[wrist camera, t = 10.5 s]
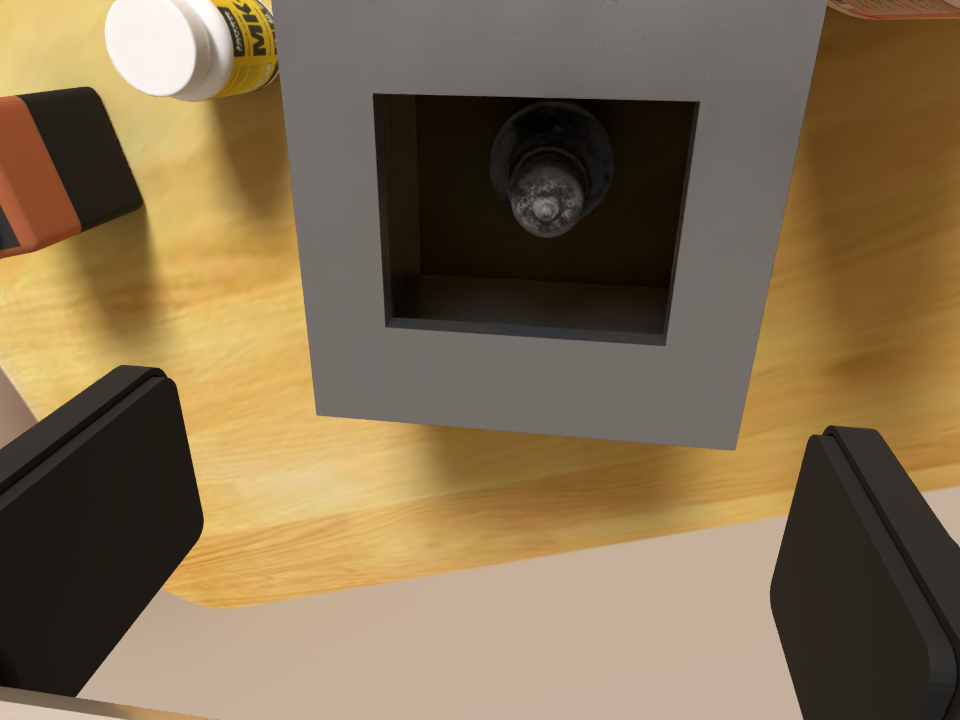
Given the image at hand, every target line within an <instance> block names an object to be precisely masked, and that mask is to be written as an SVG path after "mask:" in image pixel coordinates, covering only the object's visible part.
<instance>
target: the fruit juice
mask: <svg viewBox="0 0 960 720" xmlns="http://www.w3.org/2000/svg"><path fill="white" fill-rule="evenodd" d="M827 6H829V7H831V8H833V9H835V10H837V11H839V12H842V13H844V14H847V15H850V16H854V17H858V18H864V19H960V0H828V2H827Z"/></svg>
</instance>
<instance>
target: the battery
mask: <svg viewBox="0 0 960 720" xmlns="http://www.w3.org/2000/svg"><path fill="white" fill-rule="evenodd" d="M141 204H142V201H141V198H140V195H139V193H138V190H137V188H136V186H135V183H134V181H133V178H132V176H131V174H130V171H129V169H128V166H127V164H126V162H125V159H124V157H123V154H122V152H121V150H120V147H119V145H118V142H117V140H116V137H115V135H114V133H113V130H112V128H111V125H110V123H109V121H108V118H107V116H106V113H105V111H104V109H103V106H102V104H101V102H100V99H99V97H98V95H97V93H96V91H95V90H94V89H92V88H90V87H78V88H70V89H62V90H54V91H46V92H39V93H31V94H23V95H15V96H7V97H0V259H1V258H6V257H11V256H16V255H21V254H26V253H31V252H35V251H38V250H40V249H43V248H45V247H48V246H50V245H53V244H55V243H57V242H60V241H62V240H65V239H67V238H69V237H72V236H74V235H77V234H79V233H82V232H84V231H86V230H89V229H91V228H94V227H96V226H98V225H101V224H103V223H106V222H108V221H110V220H113V219H115V218H118V217H120V216H123V215H125V214H127V213H130V212H132V211H135V210H137V209H139V208H140V206H141Z"/></svg>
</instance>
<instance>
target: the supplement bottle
mask: <svg viewBox="0 0 960 720" xmlns="http://www.w3.org/2000/svg"><path fill="white" fill-rule="evenodd" d="M105 41H106V47H107V50H108V53H109V56H110V59H111V61H112V63H113V64H114V66H115V68H116V70H117V71H118V72H119V74H120V75H121V76H122V77H123V78H124V79H125V81H127V82H128V83H129V84H130V85H131V86H132V87H134V88H135V89H137V90H139V91H140V92H142V93H145V94H147V95H151V96H155V97H172V98H175V99H178V100H182V101H189V102H198V101H204V100H210V99H215V98H221V97H226V96H232V95H237V94H243V93H248V92H253V91H257V90H260V89H262V88H264V87H266V86H267V85H268V84H270V83H271V82H272V81H273V80H274V79H275V77H276V76H277V75H278V73H279V66H278V57H277V48H276V39H275V29H274V20H273V13H272V12H271V11H270V9H269V8H268V7H267V6H266V5H265V4H264V3H263V2H262V1H260V0H117V1H116V2H115V3H114V4H113V5H112V7H111V9H110V11H109V13H108V16H107V19H106V24H105Z"/></svg>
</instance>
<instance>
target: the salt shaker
mask: <svg viewBox="0 0 960 720" xmlns="http://www.w3.org/2000/svg"><path fill="white" fill-rule="evenodd" d="M489 171H490V178H491V182H492V185H493V189H494V191H495V193H496V195H497V196H498V198H499V200H500V201H501V203H502V205H503V206H504V207H505V208H506V209H508V210H509V211H510V212H511V213H512V214H513V215H514V216H515V218H516V220H517V221H518V223H519V224H520V225H521V226H522V227H523V228H524V229H525V230H526V231H528V232H529V233H531V234H533V235H535V236H539V237H543V238H552V237H556V236H560V235H562V234H564V233H566V232H568V231H569V230H570V229H571V228H573V227H574V226H575V225H576V224H577V222H578V220H580V219H582V218H583V217H585V216H587V215H588V214H589V213H591V212H592V211H593V210H594V209H595V208H596V207H597V206H598V205H599V204H600V202H601V201H602V199H603V198H604V196H605V195H606V193H607V191H608V190H609V186H610V183H611V180H612V177H613V174H614V153H613V149H612V144H611V140H610V138H609V136H608V134H607V132H606V130H605V129H604V127H603V125H602V124H601V123H600V122H599V121H598V120H597V119H596V118H595V117H594V116H593V114H592V113H590V112H589V111H587V110H586V109H585V108H584V107H582V106H580V105H578V104H577V103H575V102H573V101H569V100H566V99H562V98H546V99H543V100H539V101H536V102H533V103H531V104H530V105H528V106H526V107H524V108H522V109H521V110H519V111H518V112H516V113H515V114H513V115H512V116H511V117H510V118H509V119H508V120H507V121H506V122H505V124H504V125H503V126H502V127H501V128H500V130H499V132H498V134H497V136H496V138H495V140H494V142H493V144H492V149H491V153H490V158H489Z"/></svg>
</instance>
